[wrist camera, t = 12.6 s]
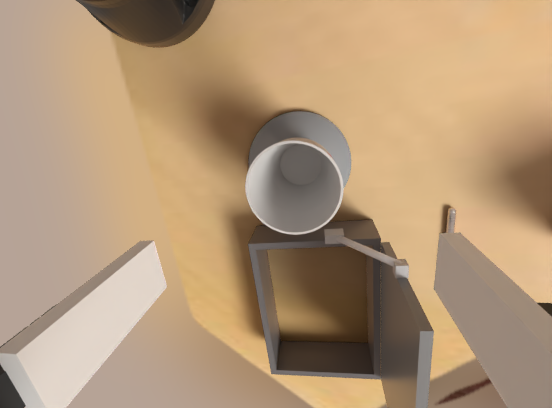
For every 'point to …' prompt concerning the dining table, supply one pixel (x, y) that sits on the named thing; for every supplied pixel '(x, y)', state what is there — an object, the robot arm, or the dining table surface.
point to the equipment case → (380, 317)
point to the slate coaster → (309, 128)
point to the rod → (451, 220)
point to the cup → (294, 186)
